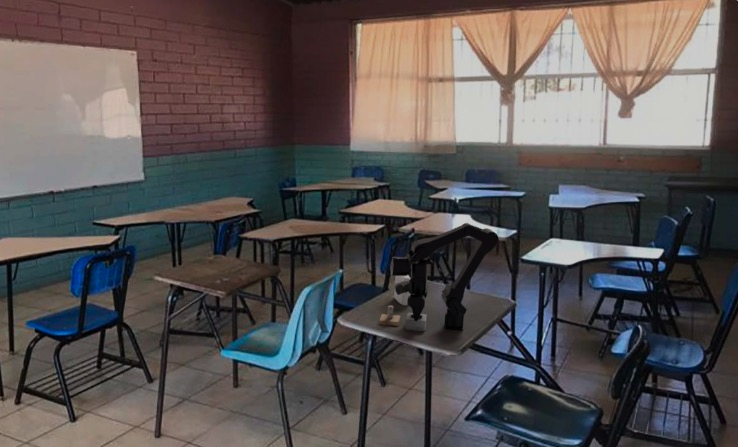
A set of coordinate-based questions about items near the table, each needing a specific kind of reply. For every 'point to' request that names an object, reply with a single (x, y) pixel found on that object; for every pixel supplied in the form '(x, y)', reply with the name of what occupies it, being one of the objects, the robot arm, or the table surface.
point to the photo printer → (404, 296)
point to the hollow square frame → (416, 322)
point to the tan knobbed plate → (389, 318)
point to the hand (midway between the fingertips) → (416, 316)
